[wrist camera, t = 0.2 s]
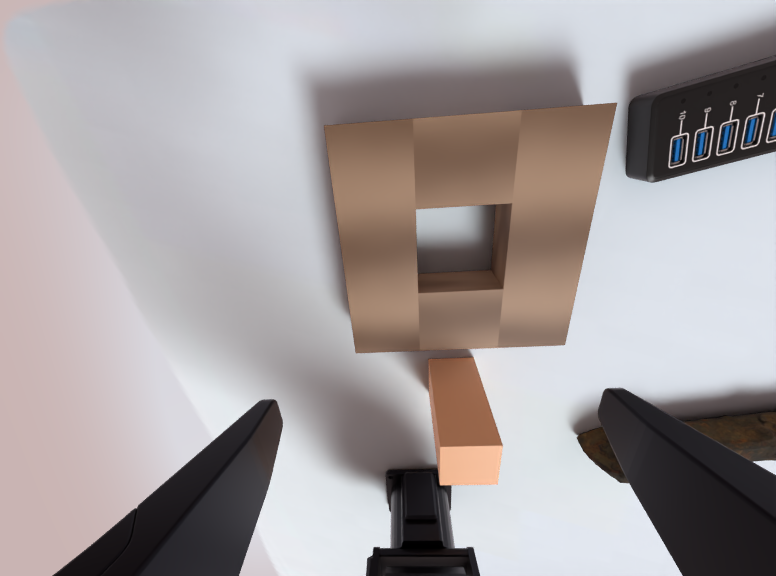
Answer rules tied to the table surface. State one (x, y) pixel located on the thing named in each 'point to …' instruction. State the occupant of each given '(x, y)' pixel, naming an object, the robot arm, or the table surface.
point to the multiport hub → (703, 123)
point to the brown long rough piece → (739, 433)
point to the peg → (462, 424)
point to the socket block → (467, 188)
